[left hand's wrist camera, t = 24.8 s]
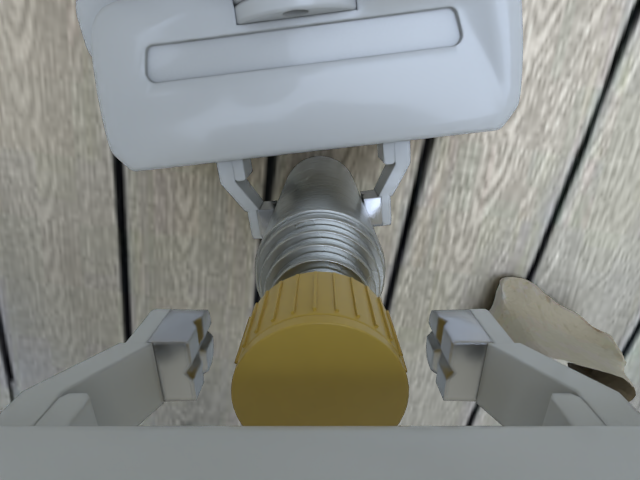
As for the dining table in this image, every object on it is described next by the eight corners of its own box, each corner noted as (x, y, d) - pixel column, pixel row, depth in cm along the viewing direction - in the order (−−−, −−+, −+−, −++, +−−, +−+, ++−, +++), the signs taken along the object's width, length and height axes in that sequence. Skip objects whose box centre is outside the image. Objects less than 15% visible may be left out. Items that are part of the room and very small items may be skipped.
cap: (346, 241, 9) (355, 287, 7) (416, 353, 11) (442, 422, 8) (219, 311, 10) (190, 372, 8) (297, 408, 11) (292, 485, 9)
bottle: (270, 193, 26) (172, 382, 9) (317, 140, 25) (312, 238, 7) (322, 237, 27) (326, 479, 10) (369, 189, 26) (469, 371, 9)
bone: (462, 310, 32) (477, 426, 25) (505, 250, 27) (540, 374, 20) (563, 336, 32) (609, 462, 24) (626, 280, 27) (707, 418, 19)
